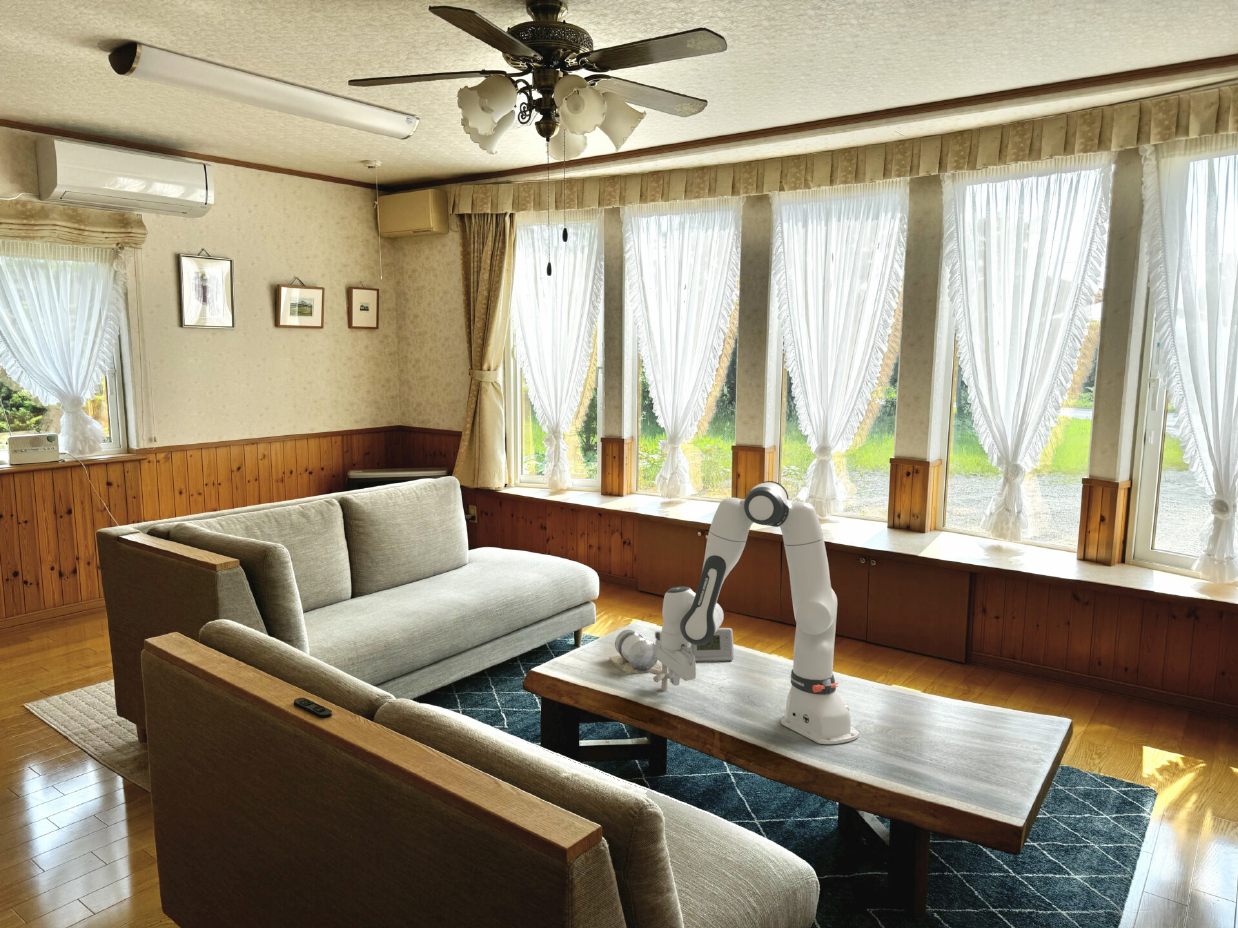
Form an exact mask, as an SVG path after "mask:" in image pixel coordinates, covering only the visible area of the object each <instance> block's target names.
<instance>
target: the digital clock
mask: <svg viewBox="0 0 1238 928" xmlns="http://www.w3.org/2000/svg"><path fill="white" fill-rule="evenodd" d="M734 648H735V647H734V632H733V628H730V627H719V628H718V630H717V631H716V632H715V634H714V636H713V638H712V640H711V641H710V642H709V643H707V644H705V645H694V644H691V646H690V647H689V649H691V652H692V654H693V655H694V656H695V662H698V663H707V662H708V663H709V662H712V663H713V662H725V661H727V662H728V661H733V660H734V658H735V654H734V653H735V652H734V650H735V649H734Z"/></svg>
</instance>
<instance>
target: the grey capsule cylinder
mask: <svg viewBox="0 0 1238 928" xmlns="http://www.w3.org/2000/svg"><path fill="white" fill-rule="evenodd" d="M614 647H615V651H616V652H617V653H618V654H619V655H617V656H616V655H615V656H609V657H608V660H609V662H610V663H612V664H613V665H614V666H615V667H616V668H617V669H618V670H620V671H621V672H622V673H623V675H626V676H627V675H633V674H640V673H648V672H649V673H650V669H651V668H656V669H659V670H662V665H660V664H658V663H657V662H658V661H659V660H658V659H657V658H656V654H655V643H654V642H653V641H651V640H649V639H645V638H644V637H643V635H641V634H640V633H639V632H637V631H635V630H634V629H624V630H622V631H621V632H620V633H619V634H618V635H616V638H615V641H614Z"/></svg>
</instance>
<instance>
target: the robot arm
mask: <svg viewBox="0 0 1238 928" xmlns="http://www.w3.org/2000/svg"><path fill="white" fill-rule="evenodd" d="M753 524H756V525H760V526H766V527H774V528H780V531H781V535H782V539H783V545H784V551H785V557H786V560H787V567H788V572H789V581H790V582H789V584H790V591H791V592H790V593H791V599H792V600H791V601H792V607H793V614H794V619H795V620H794V621H795V623H796V625H795V626H796V627H795V635H794V644H793V662H792V669H791V674H790V684H791V687H790V690H789V692H788V694H787V699H786V704H785V705H786V706H785V712H784V717H783V718H782V719H781V723H780V724H781V725H783V726H784V727H786V728H788V729H790V730H792V731H793V732H796V733H798V734H800V735H801V736H804V737H806V738H807V739H810V740H812V741H813V742H815V743H817V744H819V745H820V744H822V745H836V744H837V745H838V744H843V743H847V742H848V743H849V742H852V741H854V740H856V739H858V738H859V737H860V732H859V731H858V730H857V729H856V728H855V727H854V726H853V725H851V721H852V720H851V713H850V708H849V706H848V705H847V704H844V701H843V699H842V698H841V697H840V695H839V694H838V691H837V690H836V689H837V688H838V687H839V685H838V684H839V682H836V679H835V675H834V673H833V670H834V668H833V667H834V654H835V653H834V652H835V651H834V650H835V642H836V641H835V639H836V638H835V637H836V627H837V626H836V625H837V614H838V597H837V594H836V593H835V591H834V590H833V588H832V584H831V583H832V582H831V578H830V577H831V576H830V567H829V561H828V556H827V550H826V544H825V539H824V533H823V530H822V525H821V522H820V519H819V516H818V513H817V511H816V508H815V507H814V506H813V505H812V504H811V503H809V502H806V501H791V500H789V494H788V491H787V490H786V488H785V487H784V486H783V485H782V484H781V483H779V482H777V481H773V480H769V481H768V480H767V481H763V482H761V483H758V484H757V485H755V486H754V487H752V488H751V490H750V491H749V492H748V493H747V495H746V496H745V498H739V497H727V498H724V499H723V500H721V501H720V503H719V504H718V506H717V508H716V510H715V513H714V515H713V518H712V521H711V524H710V527H709V531H708V534H707V539H706V547H705V551H704V552H705V553H704V557H703V558H704V560H703V565H702V571H701V575H700V578H699V582H698V586H697V588H696V592H694V591H693V589H691V587H689V586H684V585H681V586H675V587H671V588H669V589H668V590H667V591H666V592H665V594H664V595H663V597H664V598H663V602H662V611H661V613H662V615H661V616H662V620H663V623H662V627H661V629H660V630H655V632H654V638H655V643H654V644H655V654H656V658H657V659H658V660H657V661H659V662H660V663H661V664H662V663H663V664H664V665H665V666H667V667H668V672H669V676H670V679H669V683H671V684H672V685H673V686H674V687H675V686H679V685H680V680H683V681H685V682H686V681H694V680H695V679H696V676H697V667H696V666H697V663H696V662H697V661H695V656H694V655H693V654H692V652H691V649H689V647H690V646H691V644H694V645H705V644H707V643H709V642H710V641H711V640H712V638H713V636H714V634H715V632H716V631H717V630H718V628H721V627H720V626H721V625H722V624H723V622H724V619H725V613H724V609H723V608H722V606H721V605H720V604H719V603H718V598H719V595H720V592H721V589H722V586H723V584H724V582H725V579H726V578H727V577H728V576H729V574H730V572H731V571H732V570H733V568H735V566H736V565H737V563H738V562H739V561H740V558H741V556H742V554H743V551H744V549H745V547H746V543H747V540H748V535H749V532H750V529H751V527H752V525H753Z"/></svg>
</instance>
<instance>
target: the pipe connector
mask: <svg viewBox="0 0 1238 928" xmlns="http://www.w3.org/2000/svg"><path fill="white" fill-rule="evenodd" d="M649 674H652V675H655V676H653V678H652V679H653V682H655V683H658V682H660V681H661V686H660V687H661V692H667V691H668V679H669V680H670V676H669V672H668V667H667V666H665V665H664V664H663V663H662V662H661V670H659V669H656V668H651V669H650V671H649Z"/></svg>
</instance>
